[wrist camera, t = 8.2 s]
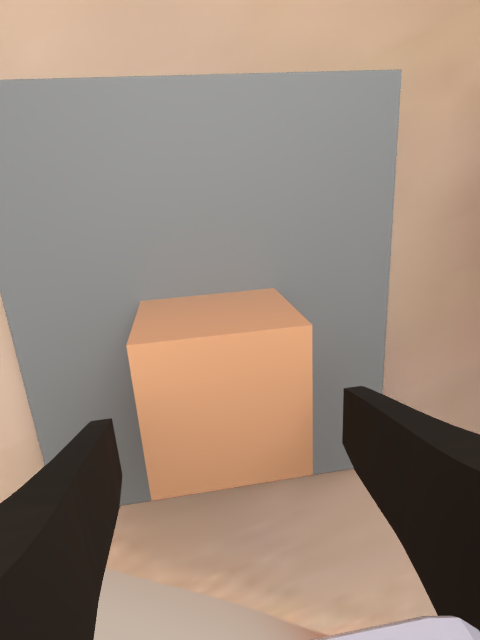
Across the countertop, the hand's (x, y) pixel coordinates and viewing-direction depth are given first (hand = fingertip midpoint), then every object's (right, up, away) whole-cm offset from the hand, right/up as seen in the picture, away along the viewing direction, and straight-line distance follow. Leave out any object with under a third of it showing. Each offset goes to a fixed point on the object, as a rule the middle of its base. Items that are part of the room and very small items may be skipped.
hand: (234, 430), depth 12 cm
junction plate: (-1, +4, +6) cm, 7 cm away
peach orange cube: (-1, +2, +5) cm, 6 cm away
